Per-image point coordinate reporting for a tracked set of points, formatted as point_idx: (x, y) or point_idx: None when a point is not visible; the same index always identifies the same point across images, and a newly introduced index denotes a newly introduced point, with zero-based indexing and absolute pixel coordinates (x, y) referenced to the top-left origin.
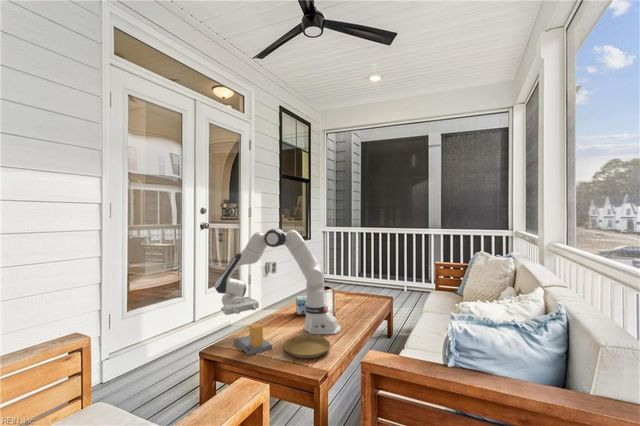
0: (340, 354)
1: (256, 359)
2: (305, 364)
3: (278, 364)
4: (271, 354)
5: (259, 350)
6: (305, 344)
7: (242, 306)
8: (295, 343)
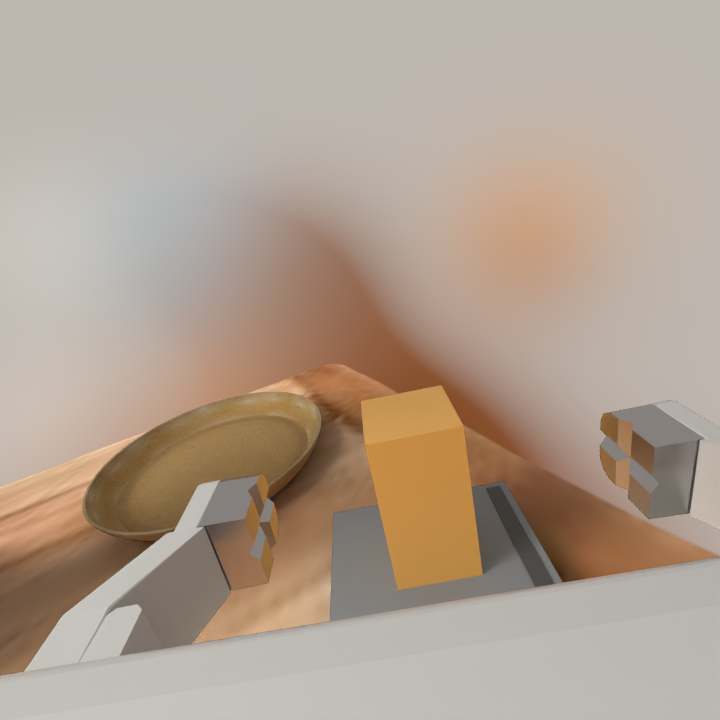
0: None
1: (468, 458)
2: (312, 401)
3: None
4: None
5: None
6: (175, 502)
7: (533, 597)
8: None
